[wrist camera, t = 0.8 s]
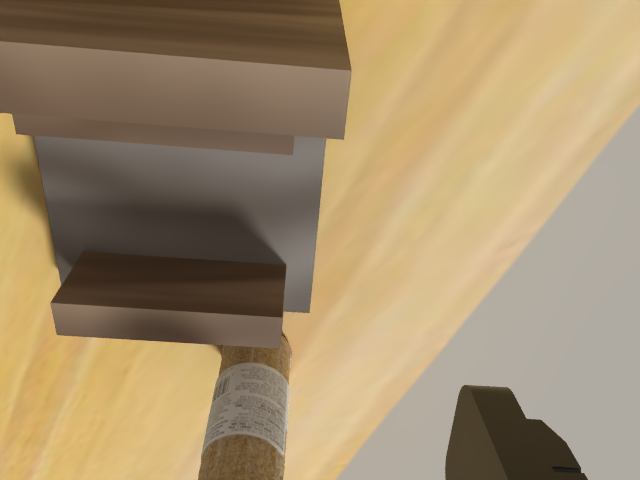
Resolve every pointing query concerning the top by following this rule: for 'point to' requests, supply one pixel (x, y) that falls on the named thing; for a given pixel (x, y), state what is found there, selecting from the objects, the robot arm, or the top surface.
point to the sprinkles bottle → (248, 415)
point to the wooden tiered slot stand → (178, 157)
